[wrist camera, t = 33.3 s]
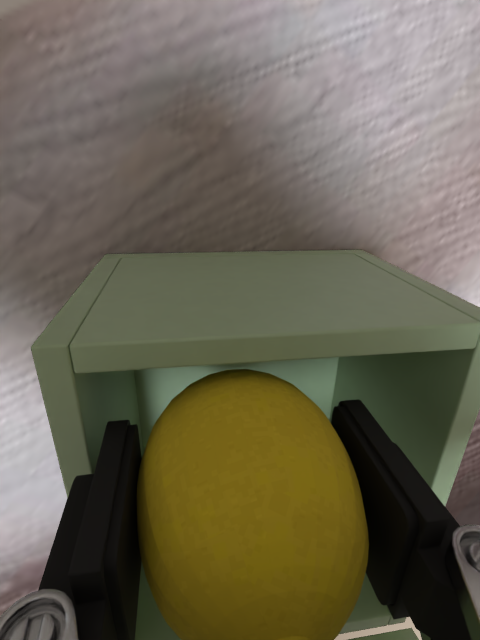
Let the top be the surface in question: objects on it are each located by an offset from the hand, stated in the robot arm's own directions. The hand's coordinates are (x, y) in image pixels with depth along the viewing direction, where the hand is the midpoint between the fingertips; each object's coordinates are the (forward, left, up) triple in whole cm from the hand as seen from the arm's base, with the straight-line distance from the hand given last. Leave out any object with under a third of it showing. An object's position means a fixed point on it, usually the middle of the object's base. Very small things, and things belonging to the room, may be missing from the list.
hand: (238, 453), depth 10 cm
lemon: (0, 0, -3) cm, 3 cm away
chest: (+3, +1, -9) cm, 9 cm away
